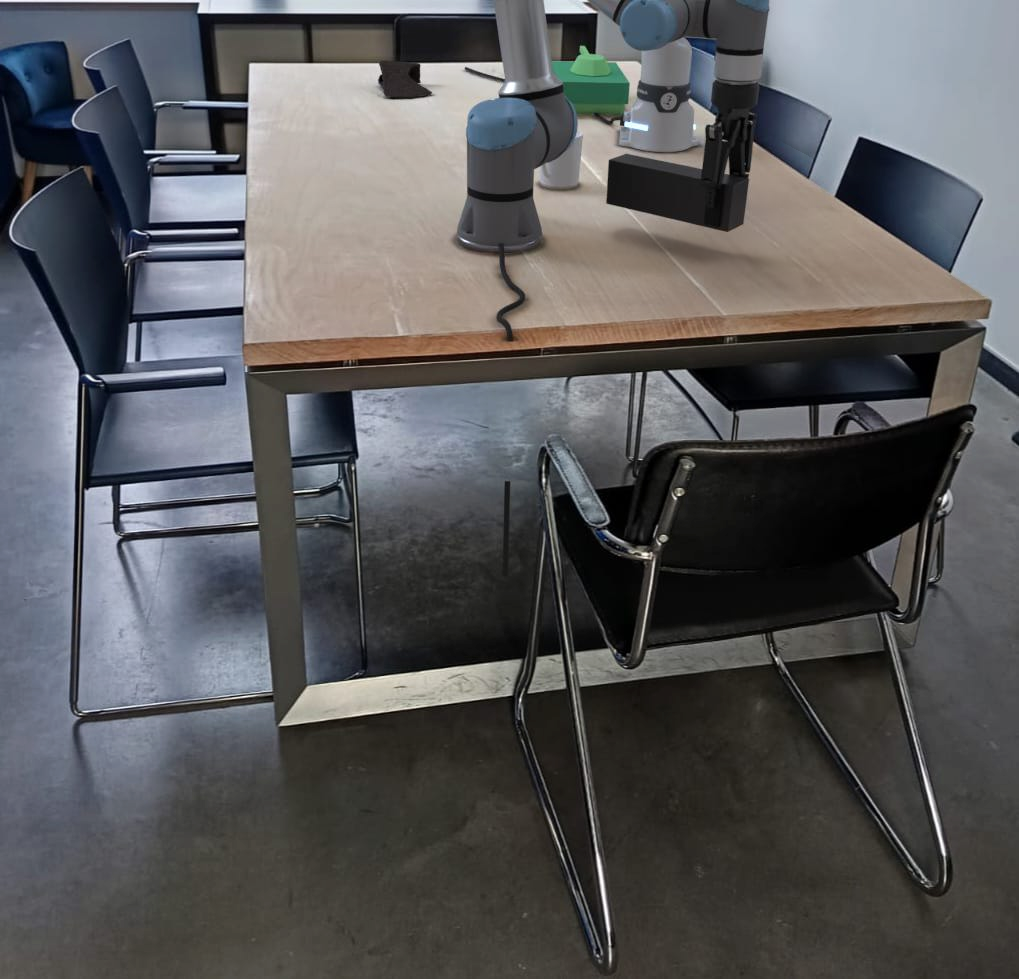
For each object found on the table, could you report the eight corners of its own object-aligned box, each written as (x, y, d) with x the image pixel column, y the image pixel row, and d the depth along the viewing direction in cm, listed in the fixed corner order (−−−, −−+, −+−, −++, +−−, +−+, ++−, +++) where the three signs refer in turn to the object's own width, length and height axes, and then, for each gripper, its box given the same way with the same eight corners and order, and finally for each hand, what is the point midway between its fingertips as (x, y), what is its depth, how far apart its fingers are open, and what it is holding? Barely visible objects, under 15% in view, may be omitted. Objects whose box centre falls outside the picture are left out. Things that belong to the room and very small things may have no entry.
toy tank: (613, 42, 301) (631, 67, 272) (609, 89, 308) (626, 118, 278) (549, 41, 300) (560, 66, 271) (547, 88, 307) (557, 117, 277)
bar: (743, 224, 190) (749, 178, 186) (727, 232, 186) (733, 185, 182) (623, 196, 203) (626, 153, 199) (605, 203, 199) (608, 159, 195)
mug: (554, 175, 232) (556, 125, 226) (589, 183, 227) (592, 132, 222) (522, 186, 224) (523, 135, 219) (557, 195, 220) (559, 142, 214)
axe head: (443, 87, 294) (392, 77, 287) (436, 115, 299) (385, 106, 292) (421, 62, 307) (371, 52, 300) (414, 89, 311) (365, 80, 304)
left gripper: (743, 69, 185) (728, 204, 197) (686, 85, 173) (674, 229, 185) (783, 74, 181) (765, 212, 193) (728, 92, 169) (713, 238, 181)
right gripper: (708, -59, 210) (700, 19, 217) (653, -52, 196) (647, 31, 203) (738, -57, 207) (729, 22, 214) (684, -49, 193) (677, 35, 200)
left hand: (721, 220), depth 189 cm, fingers closed on bar, 6 cm apart
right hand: (688, 27), depth 208 cm, fingers open, 8 cm apart
